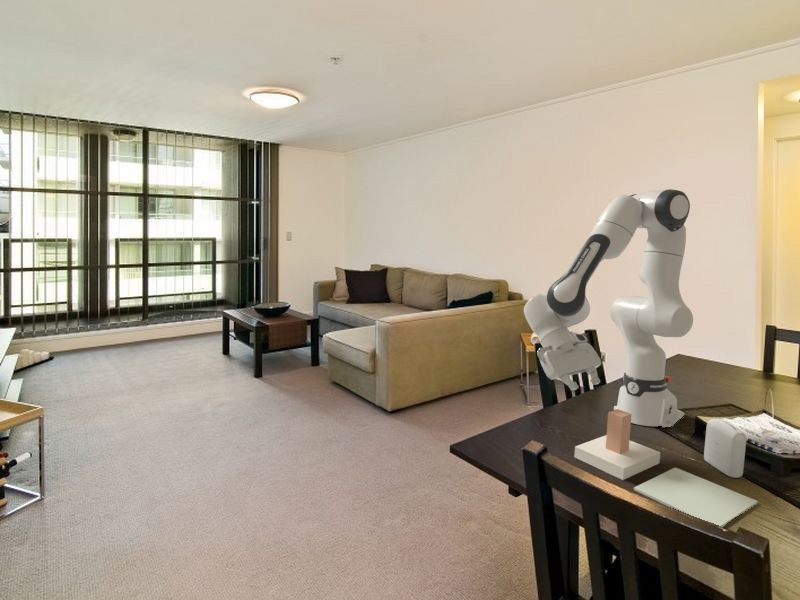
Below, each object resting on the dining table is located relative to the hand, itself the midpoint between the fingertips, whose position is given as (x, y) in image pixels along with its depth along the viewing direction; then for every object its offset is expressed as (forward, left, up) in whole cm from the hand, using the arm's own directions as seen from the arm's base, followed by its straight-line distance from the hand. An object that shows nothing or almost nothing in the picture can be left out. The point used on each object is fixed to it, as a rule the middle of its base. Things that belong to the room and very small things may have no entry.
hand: (586, 386), depth 132 cm
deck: (0, +10, -17) cm, 20 cm away
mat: (+1, +30, -17) cm, 35 cm away
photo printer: (-19, +27, -18) cm, 38 cm away
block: (0, +10, -14) cm, 18 cm away
